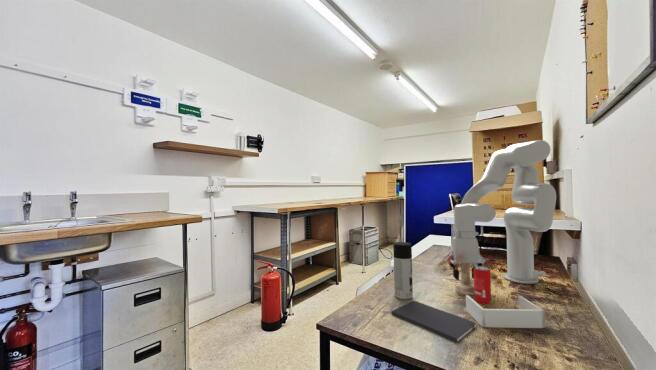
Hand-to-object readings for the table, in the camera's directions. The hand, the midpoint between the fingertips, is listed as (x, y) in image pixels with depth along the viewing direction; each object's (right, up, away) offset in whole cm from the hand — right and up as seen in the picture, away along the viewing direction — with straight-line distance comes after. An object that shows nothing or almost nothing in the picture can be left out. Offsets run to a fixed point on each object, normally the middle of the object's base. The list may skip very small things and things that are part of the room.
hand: (465, 278), depth 110 cm
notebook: (-24, -5, -26) cm, 35 cm away
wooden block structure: (0, -4, -2) cm, 4 cm away
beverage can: (-1, -4, -13) cm, 14 cm away
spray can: (-27, -4, -8) cm, 29 cm away
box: (-2, -4, -25) cm, 26 cm away
